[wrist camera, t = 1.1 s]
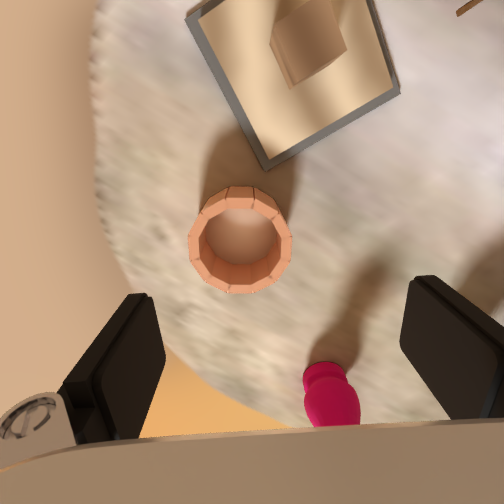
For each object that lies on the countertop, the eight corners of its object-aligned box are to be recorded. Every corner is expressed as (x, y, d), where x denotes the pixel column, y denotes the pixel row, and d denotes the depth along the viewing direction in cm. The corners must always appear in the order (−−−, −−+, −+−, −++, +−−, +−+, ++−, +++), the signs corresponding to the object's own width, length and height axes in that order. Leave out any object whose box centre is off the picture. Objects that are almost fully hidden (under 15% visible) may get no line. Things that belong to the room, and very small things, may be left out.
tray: (339, -90, 23) (341, -95, 22) (397, 94, 28) (400, 93, 28) (185, 22, 26) (184, 19, 25) (264, 171, 31) (264, 172, 30)
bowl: (258, 169, 31) (260, 177, 25) (298, 244, 34) (308, 266, 29) (181, 214, 32) (168, 230, 27) (227, 281, 36) (223, 308, 30)
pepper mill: (290, 371, 42) (323, 559, 23) (334, 350, 40) (407, 533, 22) (312, 401, 44) (359, 593, 26) (355, 382, 43) (436, 571, 24)
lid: (335, -72, 23) (364, -140, 17) (387, 89, 27) (424, 77, 22) (199, 24, 25) (185, -7, 20) (268, 158, 30) (273, 164, 24)
